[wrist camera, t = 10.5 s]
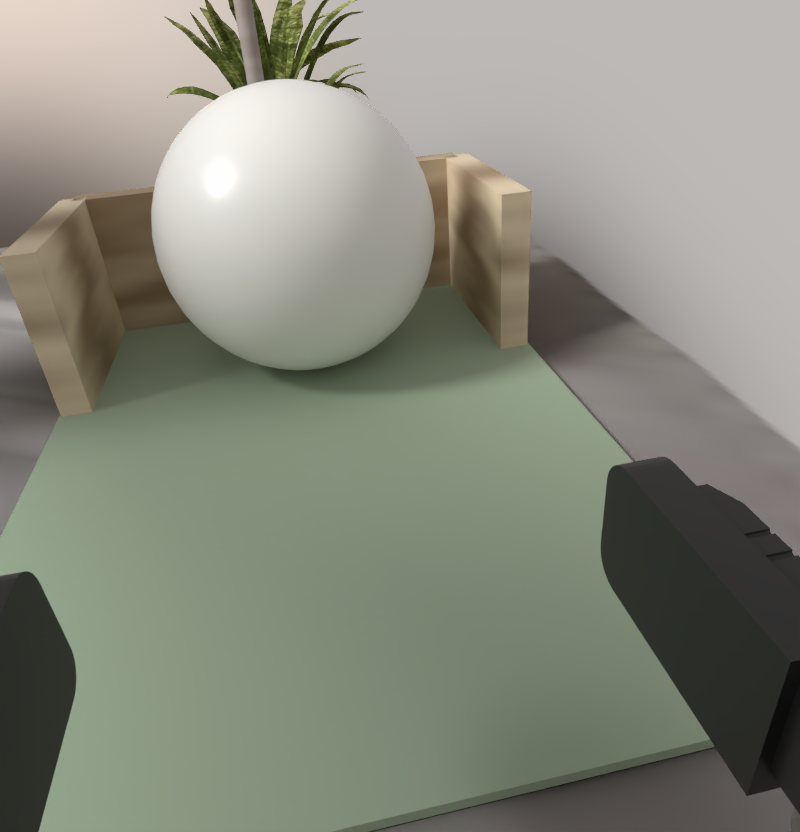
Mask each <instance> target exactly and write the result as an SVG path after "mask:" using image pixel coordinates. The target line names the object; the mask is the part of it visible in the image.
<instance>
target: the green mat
mask: <svg viewBox="0 0 800 832" xmlns="http://www.w3.org/2000/svg"><path fill="white" fill-rule="evenodd" d="M631 462H633V461H632V460H631V459H630V457H629V456H628V455H627V454H626V453H625V452H624V451H623V449H622V448H621V447H620V446H619V445H618V444H617V443H616V442H615V440H614V439H613V438H612V437H611V436H610V435H609V434H608V433H607V431H606V430H605V429H604V428H603V427H602V426H601V425H600V424H599V422H598V421H597V420H596V419H595V418H594V417H593V416H592V414H591V413H590V412H589V411H588V410H587V409H586V408H585V407H584V405H583V404H582V403H581V402H580V401H579V400H578V399H577V398H576V396H575V395H574V394H573V393H572V392H571V391H570V390H569V388H568V387H567V386H566V385H565V384H564V383H563V382H562V381H561V379H560V378H559V377H558V376H557V375H556V374H555V373H554V372H553V370H552V369H551V368H550V367H549V366H548V365H547V364H546V363H545V361H544V360H543V359H542V358H541V357H540V356H539V355H538V353H537V352H536V351H535V350H534V349H533V348H532V347H531V346H530V344H529V343H528V342H527V345H523V346H517V347H510V348H504V349H501V348H500V347H499V346H498V345H497V343H496V342H495V341H494V340H493V338H492V337H491V336H490V334H489V333H488V332H487V331H486V329H485V328H484V327H483V326H482V324H481V323H480V322H479V320H478V319H477V318H476V317H475V315H474V314H473V313H472V311H471V310H470V309H469V308H468V306H467V305H466V304H465V303H464V301H463V300H462V299H461V297H460V296H459V295H458V294H457V292H456V291H455V290H454V289H453V287H452V286H451V285H448V286H441V287H434V288H427V289H422V291H421V293H420V296H419V298H418V300H417V302H416V303H415V305H414V306H413V308H412V309H411V311H410V312H409V314H408V315H407V317H406V318H405V319H404V321H403V322H402V323H401V324H400V325H399V326H398V327H397V329H396V330H395V331H394V332H393V333H391V334H390V335H389V336H388V337H387V338H386V339H384V340H383V341H382V342H381V343H380V344H378V345H377V346H376V347H374V348H373V349H371V350H369V351H368V352H366V353H364V354H362V355H360V356H358V357H356V358H354V359H352V360H349V361H346V362H344V363H341V364H338V365H335V366H330V367H326V368H321V369H313V370H285V369H278V368H273V367H268V366H263V365H260V364H257V363H253V362H250V361H247V360H245V359H243V358H241V357H238V356H236V355H234V354H232V353H231V352H229V351H227V350H226V349H224V348H223V347H221V346H219V345H218V344H216V343H214V342H213V341H212V340H211V339H209V338H208V337H207V336H206V335H204V334H203V333H202V332H201V331H200V330H199V329H198V328H197V327H196V326H195V325H194V324H193V323H192V322H185V323H178V324H171V325H164V326H157V327H150V328H143V329H136V330H129V331H125V333H124V336H123V338H122V341H121V343H120V346H119V348H118V351H117V353H116V355H115V358H114V360H113V363H112V365H111V368H110V370H109V373H108V375H107V378H106V380H105V383H104V385H103V388H102V390H101V392H100V395H99V397H98V400H97V402H96V405H95V407H94V410H93V412H90V413H84V414H77V415H71V416H65V417H61V415H59V418H58V420H57V422H56V424H55V426H54V428H53V430H52V432H51V434H50V436H49V438H48V440H47V442H46V444H45V446H44V448H43V450H42V452H41V455H40V457H39V459H38V461H37V463H36V465H35V467H34V469H33V471H32V473H31V475H30V477H29V479H28V481H27V483H26V485H25V487H24V489H23V491H22V494H21V496H20V498H19V500H18V502H17V504H16V506H15V508H14V510H13V512H12V514H11V516H10V518H9V520H8V522H7V524H6V526H5V528H4V531H3V533H2V535H1V537H0V576H2V575H8V574H13V573H19V572H24V571H29V572H31V573H32V574H34V575H35V576H36V578H37V579H38V581H39V583H40V584H41V586H42V589H43V591H44V593H45V595H46V597H47V599H48V601H49V603H50V605H51V607H52V609H53V611H54V614H55V616H56V618H57V620H58V622H59V624H60V626H61V628H62V630H63V632H64V634H65V636H66V639H67V641H68V643H69V645H70V647H71V649H72V652H73V655H74V660H75V666H76V691H75V697H74V701H73V705H72V708H71V712H70V716H69V720H68V723H67V727H66V731H65V735H64V738H63V742H62V746H61V750H60V753H59V757H58V761H57V765H56V768H55V772H54V776H53V780H52V783H51V787H50V791H49V795H48V798H47V802H46V806H45V810H44V813H43V817H42V821H41V824H40V828H39V832H369V831H373V830H378V829H382V828H386V827H390V826H394V825H398V824H402V823H406V822H410V821H414V820H418V819H422V818H427V817H431V816H435V815H439V814H443V813H447V812H451V811H455V810H459V809H463V808H467V807H471V806H475V805H480V804H484V803H488V802H492V801H496V800H500V799H504V798H508V797H512V796H516V795H520V794H524V793H529V792H533V791H537V790H541V789H545V788H549V787H553V786H557V785H561V784H565V783H569V782H573V781H578V780H582V779H586V778H590V777H594V776H598V775H602V774H606V773H610V772H614V771H618V770H622V769H627V768H631V767H635V766H639V765H643V764H647V763H651V762H655V761H659V760H663V759H667V758H671V757H676V756H680V755H684V754H688V753H692V752H696V751H700V750H704V749H708V748H712V747H715V746H714V745H713V743H712V741H711V740H710V738H709V737H708V735H707V734H706V732H705V731H704V729H703V728H702V726H701V725H700V723H699V721H698V720H697V718H696V717H695V715H694V714H693V712H692V711H691V709H690V708H689V706H688V705H687V703H686V701H685V700H684V698H683V697H682V695H681V694H680V692H679V691H678V689H677V688H676V686H675V685H674V683H673V682H672V680H671V678H670V677H669V675H668V674H667V672H666V671H665V669H664V668H663V666H662V665H661V663H660V662H659V660H658V658H657V657H656V655H655V654H654V652H653V651H652V649H651V648H650V646H649V645H648V643H647V642H646V640H645V639H644V637H643V635H642V634H641V632H640V631H639V629H638V628H637V626H636V625H635V623H634V622H633V620H632V619H631V617H630V615H629V614H628V612H627V611H626V609H625V608H624V606H623V605H622V603H621V602H620V600H619V599H618V597H617V595H616V594H615V592H614V591H613V589H612V588H611V586H610V584H609V582H608V580H607V577H606V574H605V571H604V568H603V564H602V559H601V536H602V525H603V515H604V505H605V495H606V485H607V477H608V473H609V471H610V469H611V468H612V467H613V466H615V465H620V464H625V463H631Z"/></svg>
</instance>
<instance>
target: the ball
mask: <svg viewBox="0 0 800 832" xmlns="http://www.w3.org/2000/svg"><path fill="white" fill-rule="evenodd" d="M151 225H152V239H153V244H154V249H155V253H156V258H157V262H158V266H159V268H160V270H161V273H162V275H163V278H164V280H165V282H166V285H167V287H168V289H169V291H170V293H171V294H172V296H173V297H174V299H175V301H176V302H177V304H178V305H179V307H180V308H181V310H182V311H183V313H184V314H185V315H186V316H187V317H188V318H189V319H190V321H191V322H192V323H193V324H194V325H195V326H196V327H197V328H198V329H199V330H200V331H201V332H202V333H203V334H204V335H206V336H207V337H208V338H209V339H211V340H212V341H213V342H214V343H216V344H218V345H219V346H221V347H223V348H224V349H226V350H227V351H229V352H231V353H232V354H234V355H236V356H238V357H241V358H243V359H245V360H247V361H250V362H253V363H257V364H260V365H263V366H268V367H273V368H278V369H285V370H313V369H321V368H326V367H330V366H335V365H338V364H341V363H344V362H346V361H349V360H352V359H354V358H356V357H358V356H360V355H362V354H364V353H366V352H368V351H369V350H371V349H373V348H374V347H376V346H377V345H378V344H380V343H381V342H382V341H383V340H384V339H386V338H387V337H388V336H389V335H390V334H391V333H393V332H394V331H395V330H396V329H397V327H398V326H399V325H400V324H401V323H402V322H403V321H404V319H405V318H406V317H407V315H408V314H409V312H410V311H411V309H412V308H413V306H414V305H415V303H416V302H417V300H418V298H419V296H420V293H421V291H422V289H423V287H424V284H425V282H426V280H427V277H428V273H429V269H430V265H431V261H432V256H433V252H434V235H435V221H434V212H433V205H432V199H431V195H430V192H429V188H428V185H427V182H426V179H425V176H424V173H423V171H422V169H421V167H420V165H419V163H418V160H417V159H416V157H415V155H414V153H413V151H412V150H411V148H410V147H409V145H408V144H407V143H406V141H405V140H404V138H403V137H402V136H401V135H400V133H399V132H398V131H397V129H396V128H395V127H393V125H392V124H391V123H389V122H388V121H387V120H386V119H385V118H384V117H383V116H382V115H381V114H380V113H379V112H378V111H376V110H375V109H374V108H372V107H371V106H370V105H368V104H366V103H365V102H363V101H362V100H360V99H358V98H357V97H355V96H353V95H352V94H349V93H347V92H345V91H343V90H340V89H338V88H335V87H332V86H329V85H325V84H321V83H317V82H313V81H307V80H298V79H275V80H267V81H261V82H257V83H253V84H250V85H246V86H243V87H240V88H237V89H235V90H232V91H230V92H228V93H226V94H224V95H222V96H220V97H219V98H217V99H216V100H214V101H213V102H212V103H210V104H208V105H207V106H206V107H204V108H203V109H201V110H200V111H199V112H198V113H197V114H196V115H195V116H194V117H193V118H192V119H191V120H190V121H189V122H188V123H187V124H186V126H185V127H184V128H183V129H182V130H181V131H180V133H179V134H178V135H177V137H176V138H175V140H174V142H173V143H172V145H171V147H170V148H169V150H168V152H167V154H166V156H165V157H164V160H163V162H162V165H161V167H160V170H159V173H158V176H157V179H156V182H155V187H154V193H153V200H152V208H151Z"/></svg>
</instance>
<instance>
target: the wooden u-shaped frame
mask: <svg viewBox="0 0 800 832" xmlns="http://www.w3.org/2000/svg"><path fill="white" fill-rule="evenodd" d="M233 3H234V9H235V15H236V21H237V26H238V32H239V38H240V44H241V50H242V55H243V61H244V67H245V73H246V79H247V84H248V85H250V84H253V83H257V82H261V81H264V75H263V69H262V62H261V56H260V50H259V44H258V37H257V31H256V25H255V19H254V12H253V6H252V0H233ZM416 159H417V160H418V163H419V165H420V167H421V169H422V171H423V173H424V176H425V179H426V182H427V185H428V188H429V192H430V195H431V199H432V205H433V212H434V221H435V235H434V252H433V256H432V261H431V265H430V269H429V273H428V277H427V280H426V282H425V284H424V287H423V289H427V288H434V287H441V286H448V285H451V286H452V287H453V289H454V290H455V291H456V292H457V294H458V295H459V296H460V297H461V299H462V300H463V301H464V303H465V304H466V305H467V306H468V308H469V309H470V310H471V311H472V313H473V314H474V315H475V317H476V318H477V319H478V320H479V322H480V323H481V324H482V326H483V327H484V328H485V329H486V331H487V332H488V333H489V334H490V336H491V337H492V338H493V340H494V341H495V342H496V343H497V345H498V346H499V347H500V348H501V349H504V348H510V347H517V346H523V345H527V340H528V303H529V266H530V228H531V192H532V191H531V190H529V189H527V188H525V187H524V186H522V185H520V184H518V183H517V182H515V181H513V180H512V179H510V178H508V177H506V176H505V175H503V174H501V173H500V172H498V171H496V170H494V169H493V168H491V167H489V166H488V165H486V164H484V163H482V162H481V161H478V160H477V159H475V158H473V157H472V156H470V155H469V154H457V155H455V154H453V153H446V154H438V155H429V156H420V157H416ZM153 193H154V187H149V188H140V189H131V190H123V191H114V192H106V193H97V194H88V195H79V196H76V197H75V198H74V199H65V200H60V201H59V202H58V203H57V204H56V205H55V206H53V207H52V208H51V209H50V210H49V211H48V212H47V213H46V214H45V215H44V216H43V217H42V218H40V219H39V220H38V221H37V222H36V223H35V224H34V225H33V226H32V227H31V228H30V229H28V230H27V231H26V232H25V233H24V234H23V235H22V236H21V237H20V238H19V239H18V240H17V241H15V242H14V244H12V245H11V246H10V247H9V248H8V249H7V250H6V251H5V252H3V253H2V254H1V255H0V262H1V265H2V267H3V270H4V273H5V275H6V278H7V280H8V283H9V285H10V288H11V290H12V293H13V296H14V298H15V301H16V303H17V306H18V308H19V311H20V313H21V316H22V318H23V321H24V324H25V326H26V329H27V331H28V334H29V336H30V339H31V341H32V344H33V346H34V349H35V352H36V354H37V357H38V359H39V362H40V364H41V367H42V369H43V372H44V375H45V377H46V380H47V382H48V385H49V387H50V390H51V392H52V395H53V397H54V400H55V403H56V405H57V408H58V410H59V413H60V415H61V417H65V416H71V415H77V414H84V413H90V412H93V410H94V407H95V405H96V402H97V400H98V397H99V395H100V392H101V390H102V388H103V385H104V383H105V380H106V378H107V375H108V373H109V370H110V368H111V365H112V363H113V360H114V358H115V355H116V353H117V351H118V348H119V346H120V343H121V341H122V338H123V336H124V333H125V331H129V330H136V329H143V328H150V327H157V326H164V325H171V324H178V323H185V322H191V321H190V319H189V318H188V317H187V316H186V315H185V314H184V313H183V311H182V310H181V308H180V307H179V305H178V304H177V302H176V301H175V299H174V297H173V296H172V294H171V293H170V291H169V289H168V287H167V285H166V282H165V280H164V278H163V275H162V273H161V270H160V268H159V266H158V262H157V258H156V253H155V249H154V244H153V239H152V225H151V208H152V200H153Z"/></svg>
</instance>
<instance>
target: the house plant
mask: <svg viewBox="0 0 800 832" xmlns="http://www.w3.org/2000/svg"><path fill="white" fill-rule="evenodd" d="M327 1H328V0H324V1H323V2H322V3H321V4H320V6H319V7H318V9H317V10H316V12H315V13H314V14H313V16H312V19H311V21H310V23H309V25H308V27H307V28H306V30H305V32H304V34H303V36H302V38H301V41H300V43H299V46H298V50H297V53H296V57H295V58H294V56H295V51H296V48H297V44H298V40H299V37H300V34H301V31H302V28H303V22H302V14H301V12H302V9H303V7H304V5H305V0H302V1H300V2H298V3H297V4H295V5H294V6H293V7H292V0H279V2H278V5H277V8H276V11H275V14H274V18H273V24H272V29H271V36H270V44H269V43H268V38H267V34H266V30H265V26H264V23H263V20H262V16H261V12H260V10H259V8H258V6H257V4H256V2H255V0H252V6H253V12H254V19H255V25H256V31H257V37H258V44H259V50H260V56H261V62H262V69H263V75H264V81H267V80H275V79H297V77H298V74H299V72H300V70H301V69H302V68H303V67H304V66H306V65H308V64H309V63H310V65H309V67H308V70H307V72H306V75H305V77H304V80H307V81H313V82H323V83H325V85H329V86H332V87H335V88H338V89H339V87H346V88H352V89H353V90H354V91H355V90H357V91H359V92H361V93H362V94H364V95H366V94H365V93H364V92H363V91H362V90H361V89H360V88H357V87H356V86H353V85H350V84H344V83H341V82H342V81H343V80H344V79H345V78H346V77H348V76H350V75H347V76H345V77H343V78H342V79H340V80H339V81H338V82H335V80H336V79H337V78H338V77H339V76H340V75H341V74H342V73H343V72H344V71H345V70H346V69H348V68H351V67H354V66H358V65H354V66H349V67H345V68H343V69H341V70H339V71H338V72H336V73H335V74H334V75H332V77H331V78H330V79H324V80H320V81H317V80H309V79H310V76H311V73H312V71H313V68H314V65H315V63H316V61H317V58H319V57H321V56H322V55H324V54H325V53H327V52H329V51H331V50H332V49H335V48H338V47H341V46H345V45H348V44H350V43H352V42H354V41H356V40H358V38H356V39H349V40H341V41H336V42H333V43H329V44H326V45H324V44H325V42H326V40H327V39H328V37H329V35H330V34H331V32H332V31H333V30H334V29H335V27H336V26H337V25H338V24H339V23H340V22H341V21H342V20H343V19H344V18H346V17H347V16H349V15H352V14H356V13H361V12H351V13H348V14H344V15H342V16H340V17H339V18H337V19H336V20H335V21H333V22H332V24H331V25H330V26H329V27H328V28H327V29H326V31H325V32H324V34H323V35H322V37H321V39H320V41H319V43H318V45H317V47H316V48H314V49H312V50H311V48H312V46H313V45H314V43H315V42H316V40H317V38H318V37H319V35H320V34H321V32H322V31H323V30H324V28H325V27H326V26H327V24H328V23H329V22H330V21H331V20H332V19H333V18H334V17H335V16H336V15H337V14H338V13H339V12H340V11H341V10H342V9H344V8H345V7H346V6H347V5H349V4H350V3H352V2H354V1H356V0H351V1H349V2H347V3H345V4H343V5H341V6H340V7H339V8H337V9H335V10H334V11H333V12H332V13H329V14H325V15H322V16H320V17H319V18H318V16H319V14H320V12H321V10H322V8H323V7H324V5H325V4H326V3H327ZM205 2H206V7H207V9H208V10H206V9H203V8H200V9H201V11H202V12H203V14H204V16H205V17H206V19H207V20H208V22H209V25H210V26H211V28H212V30H213V32H214V34H215V36H216V38H217V40H218V42H219V44H220V47H221V49H220V48H219V46H218V45H217V43H216V42H215V40H214V39H213V38H212V36H211V35H210V34H209V33H208V32H207V31H206V30H205V28H204V27H203V26H202V25H201V23H200V22H199V21H198V20H197V19H196V18H195V17H194V16H193V15H192V14H191V15H192V17H193V18H194V20H195V22H196V24H197V26H198V27H199V29H200V31H201V32H202V34H203V36H204V38H205V39H206V41H207V43H208V44H209V46H210V47H211V48H212V49H211V48H209V47H208V46H207V45H206V44H205V43H204V42H203V41H201V40H200V39H199V38H198V37H196V35H194V34H193V33H192V32H191V31H190V30H188V29H187V28H185V27H183V26H182V25H180V24H178V23H176V22H174V21H172V20H171V19H169V18H167V19H168V20H169V21H170V22H171V23H172V24H173V25H175V26H176V27H178V28H179V29H181V30H182V31H183V32H185V34H186V35H187V36H188V37H189V38H190V39H191V40H192V41H193V42H194V44H195V45H196V46H198V47H199V48H200V49H201V50H202V51H203V52H204V53H205V54H206V55H207V56H208V57H209V58H210V59H211V60H212V61H213V62H214V63H215V64H216V65H217V67H218V68H219V69H220V71H221V72H222V74H223V75H224V76H225V78H226V79H227V80H228V82H229V83H230V85H231V86H232V87H233V89H234V90H235V89H237V88H240V87H243V86H246V85H248V84H247V79H246V73H245V67H244V61H243V55H242V50H241V44H240V40H239V38H238V37H237V35H236V33H235V32H234V31H233V30H232V29H231V28H230V27H229V26H228V25H227V24H226V23H224V22H223V21H222V20H221V19H220V17H219V16H218V14H217V13H216V12H215V11H214V9H213V7H212V5H211V4H210V3H209V2H208V0H205ZM229 5H230V9H231V11H232V13H233V15H234V17H235V19H236V15H235V9H234V3H233V0H229ZM328 15H329V16H328ZM324 16H328V17H327V18H326V19H325V20H323V22H322V23H321V24H320V25H319V27H318V28H317V29H316V30H315V32H314V34H313V35H312V37H311V38H310V40H309V37H310V35H311V33H312V31H313V28H314V26H315V23H316V20H318V19H320V18H322V17H324ZM236 22H237V21H236ZM308 40H309V41H308ZM307 42H308V43H307ZM221 50H222V51H221ZM358 73H363V72H357V73H353V74H358ZM353 74H351V75H353ZM355 92H356V91H355ZM181 93H187V94H195V95H201V96H204V97H207V98H210V99H213V100H216V99H217V98H219V96H217V95H215V94H213V93H211V92H208V91H206V90H204V89H200V88H197V87H182V88H178V89H176V90H174V91H173V92H171V93H170V94H169V95H172V94H181Z"/></svg>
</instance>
